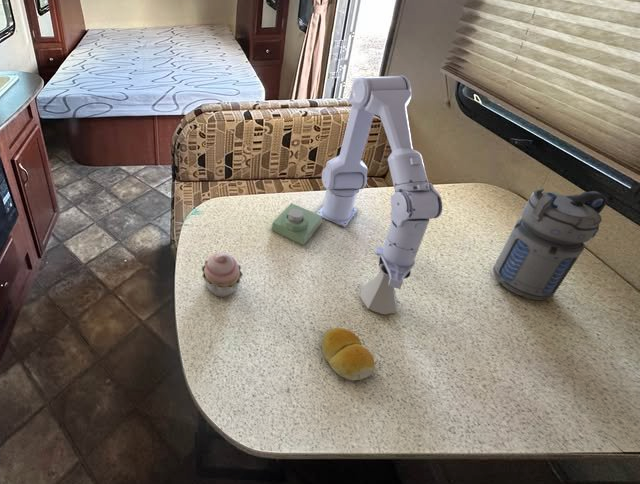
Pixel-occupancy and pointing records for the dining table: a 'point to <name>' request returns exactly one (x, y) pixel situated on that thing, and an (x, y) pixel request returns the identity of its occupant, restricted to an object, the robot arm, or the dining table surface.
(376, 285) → the flask
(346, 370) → the bread roll
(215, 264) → the cupcake
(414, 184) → the robot arm
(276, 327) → the dining table surface
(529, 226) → the beverage bottle
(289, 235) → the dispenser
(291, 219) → the grey short cylinder
